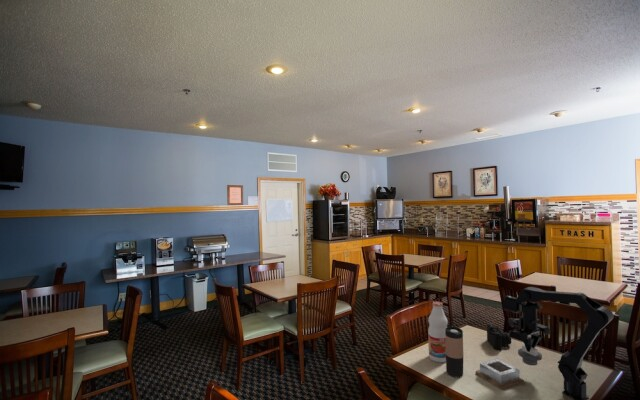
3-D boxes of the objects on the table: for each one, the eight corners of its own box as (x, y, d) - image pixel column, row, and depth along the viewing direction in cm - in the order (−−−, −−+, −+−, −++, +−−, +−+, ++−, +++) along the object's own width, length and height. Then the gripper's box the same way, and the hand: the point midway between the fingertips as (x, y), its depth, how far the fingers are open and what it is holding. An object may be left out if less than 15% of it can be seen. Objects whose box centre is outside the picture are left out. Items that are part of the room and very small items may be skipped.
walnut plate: (524, 383, 141) (524, 380, 141) (502, 390, 137) (502, 387, 137) (496, 367, 154) (496, 365, 154) (475, 373, 150) (475, 371, 150)
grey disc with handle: (546, 365, 143) (546, 349, 143) (532, 369, 140) (532, 353, 140) (527, 355, 152) (527, 341, 152) (513, 359, 148) (513, 344, 148)
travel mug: (448, 367, 156) (448, 325, 156) (465, 372, 151) (465, 329, 151) (443, 374, 150) (442, 330, 150) (460, 379, 145) (460, 334, 145)
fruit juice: (445, 354, 169) (444, 300, 169) (451, 363, 159) (450, 306, 159) (426, 353, 169) (425, 300, 169) (431, 363, 160) (430, 306, 160)
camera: (515, 352, 170) (515, 332, 170) (493, 350, 172) (493, 331, 171) (505, 340, 183) (505, 322, 183) (485, 339, 185) (484, 321, 185)
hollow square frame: (519, 379, 142) (519, 369, 142) (501, 384, 138) (501, 375, 138) (497, 367, 153) (497, 358, 153) (479, 372, 149) (479, 363, 149)
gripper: (526, 307, 156) (527, 340, 157) (498, 313, 150) (498, 347, 150) (550, 315, 146) (551, 349, 146) (521, 321, 139) (521, 358, 139)
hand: (530, 350), depth 146 cm, fingers closed on grey disc with handle
